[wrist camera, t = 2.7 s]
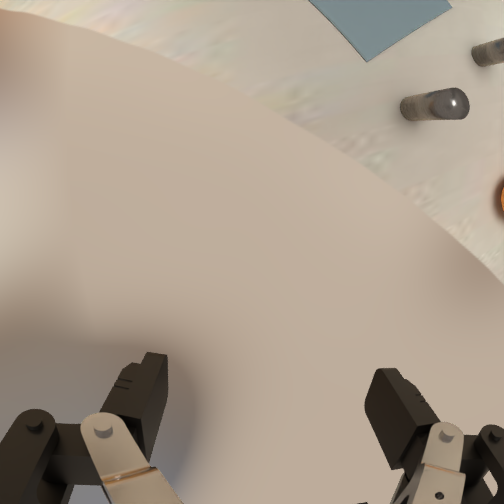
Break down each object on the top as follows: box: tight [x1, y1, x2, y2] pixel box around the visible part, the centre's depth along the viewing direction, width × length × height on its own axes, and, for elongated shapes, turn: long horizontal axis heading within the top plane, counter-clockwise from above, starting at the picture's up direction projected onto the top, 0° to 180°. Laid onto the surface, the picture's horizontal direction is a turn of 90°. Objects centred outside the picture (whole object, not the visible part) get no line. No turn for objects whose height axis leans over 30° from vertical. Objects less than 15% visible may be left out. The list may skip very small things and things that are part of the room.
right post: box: [472, 38, 504, 67], centre depth 20 cm, size 3×3×9 cm
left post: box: [400, 88, 470, 121], centre depth 23 cm, size 3×3×9 cm
